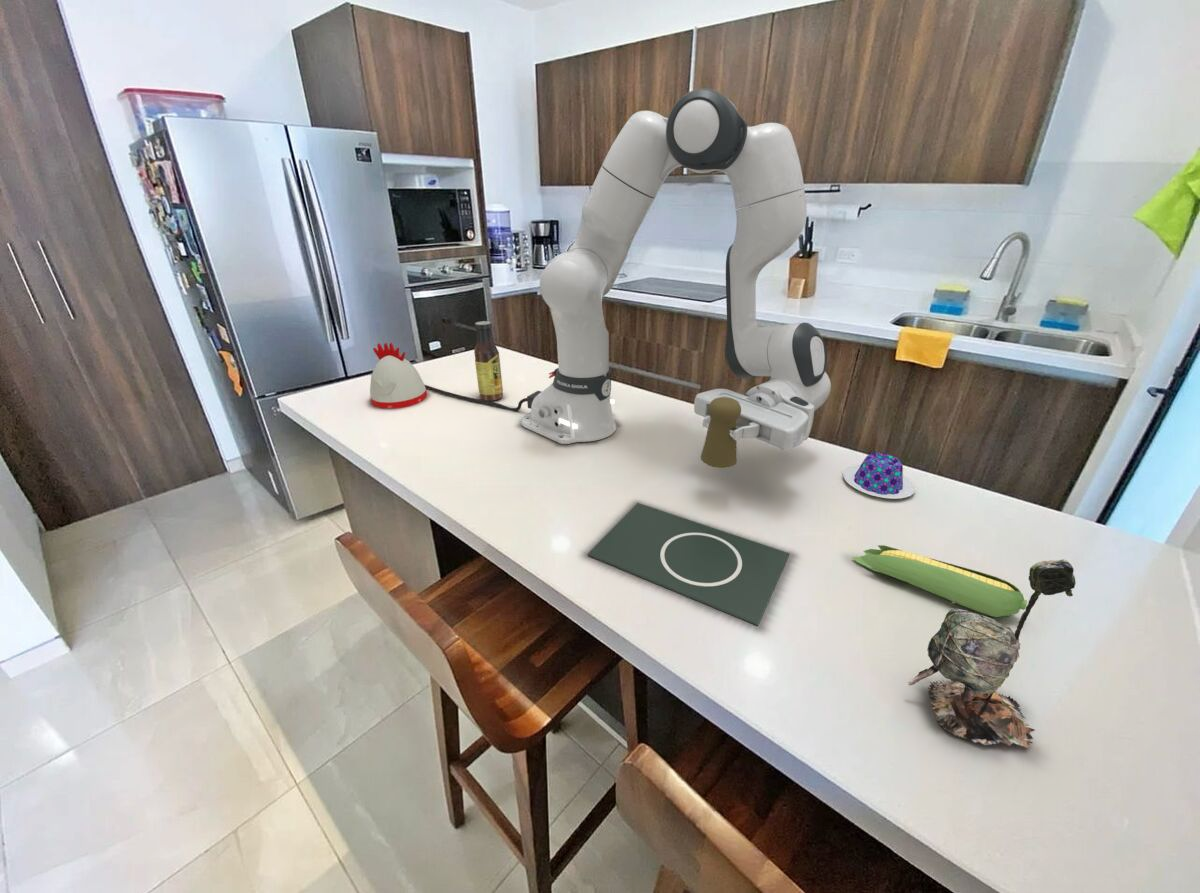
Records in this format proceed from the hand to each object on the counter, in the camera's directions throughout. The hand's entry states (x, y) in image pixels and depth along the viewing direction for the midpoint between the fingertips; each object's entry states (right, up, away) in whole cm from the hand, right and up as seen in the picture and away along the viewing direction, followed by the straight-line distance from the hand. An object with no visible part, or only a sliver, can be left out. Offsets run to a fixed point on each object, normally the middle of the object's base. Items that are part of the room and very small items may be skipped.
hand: (719, 429), depth 82 cm
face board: (-6, -19, -7) cm, 21 cm away
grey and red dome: (-73, +10, +51) cm, 90 cm away
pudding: (+32, -10, +11) cm, 35 cm away
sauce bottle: (-49, +10, +51) cm, 71 cm away
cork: (+1, -5, +4) cm, 6 cm away
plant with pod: (+19, -31, -29) cm, 47 cm away
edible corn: (+26, -23, -13) cm, 37 cm away
